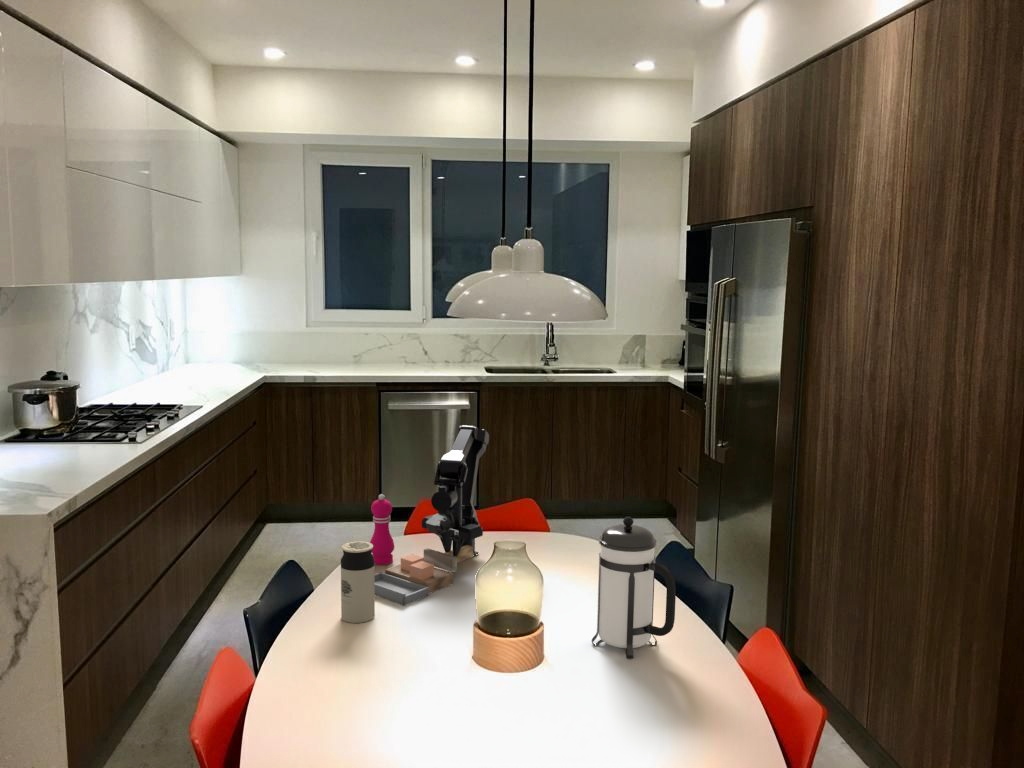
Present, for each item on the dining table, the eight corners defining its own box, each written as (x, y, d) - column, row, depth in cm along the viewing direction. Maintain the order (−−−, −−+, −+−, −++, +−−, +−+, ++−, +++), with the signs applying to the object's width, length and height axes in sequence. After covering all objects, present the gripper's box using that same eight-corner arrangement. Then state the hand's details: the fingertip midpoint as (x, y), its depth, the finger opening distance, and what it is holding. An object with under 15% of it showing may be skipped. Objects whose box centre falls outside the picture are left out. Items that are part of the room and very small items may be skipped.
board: (411, 570, 245) (411, 560, 245) (453, 583, 235) (453, 573, 235) (385, 580, 237) (385, 569, 237) (427, 594, 227) (427, 583, 227)
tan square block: (412, 564, 241) (412, 554, 241) (424, 568, 238) (424, 557, 238) (400, 568, 238) (400, 558, 237) (412, 572, 235) (412, 561, 235)
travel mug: (366, 608, 217) (366, 538, 215) (379, 619, 210) (379, 547, 208) (336, 615, 213) (335, 544, 210) (348, 626, 206) (348, 553, 204)
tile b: (421, 571, 236) (421, 561, 235) (433, 575, 233) (433, 564, 232) (409, 576, 232) (409, 565, 232) (421, 579, 229) (421, 568, 229)
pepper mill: (366, 559, 254) (365, 492, 252) (390, 556, 257) (390, 490, 255) (373, 566, 248) (372, 498, 245) (397, 563, 251) (397, 496, 248)
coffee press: (593, 660, 190) (597, 527, 186) (589, 630, 206) (592, 507, 202) (673, 662, 189) (679, 529, 186) (663, 632, 205) (667, 508, 201)
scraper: (456, 551, 256) (456, 538, 255) (484, 559, 249) (484, 546, 248) (423, 563, 245) (423, 549, 245) (452, 572, 238) (452, 558, 238)
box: (381, 579, 238) (381, 569, 237) (428, 595, 226) (428, 584, 226) (356, 588, 231) (355, 577, 230) (403, 605, 219) (403, 594, 219)
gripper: (407, 502, 243) (407, 556, 245) (457, 514, 232) (456, 571, 234) (435, 494, 252) (435, 546, 254) (484, 506, 240) (483, 560, 242)
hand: (451, 556), depth 246 cm, fingers closed on scraper, 2 cm apart
